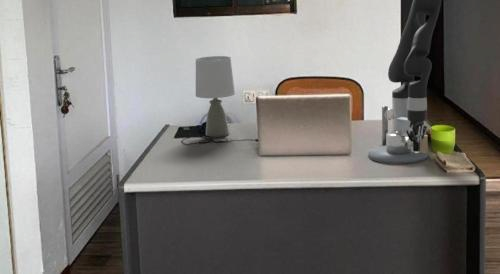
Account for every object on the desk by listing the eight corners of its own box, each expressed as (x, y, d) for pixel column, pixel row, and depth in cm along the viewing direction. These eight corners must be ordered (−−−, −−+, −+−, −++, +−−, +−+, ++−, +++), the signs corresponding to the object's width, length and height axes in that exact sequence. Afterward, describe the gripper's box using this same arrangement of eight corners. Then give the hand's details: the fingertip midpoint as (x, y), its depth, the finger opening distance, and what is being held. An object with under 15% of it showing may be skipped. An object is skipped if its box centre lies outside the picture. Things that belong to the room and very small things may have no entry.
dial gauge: (383, 145, 330) (382, 104, 326) (403, 148, 324) (403, 106, 319) (373, 149, 324) (372, 108, 320) (393, 152, 318) (393, 110, 313)
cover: (386, 148, 317) (386, 128, 315) (411, 148, 315) (411, 128, 313) (385, 154, 308) (385, 134, 306) (411, 155, 305) (411, 134, 303)
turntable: (371, 148, 326) (371, 128, 324) (428, 149, 320) (428, 129, 318) (365, 162, 303) (364, 141, 301) (426, 164, 297) (427, 142, 295)
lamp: (191, 138, 362) (186, 60, 353) (208, 129, 378) (204, 55, 370) (227, 140, 354) (222, 61, 346) (242, 131, 371) (239, 55, 363)
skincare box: (396, 145, 330) (396, 118, 328) (402, 143, 333) (402, 116, 330) (406, 147, 326) (406, 120, 323) (413, 145, 328) (413, 118, 325)
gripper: (417, 111, 293) (416, 155, 297) (433, 106, 303) (432, 149, 307) (400, 110, 298) (399, 152, 302) (416, 105, 308) (416, 146, 312)
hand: (416, 150), depth 304 cm, fingers closed
